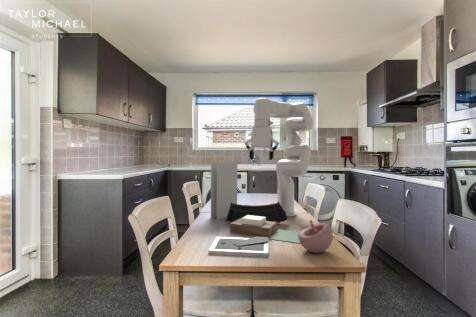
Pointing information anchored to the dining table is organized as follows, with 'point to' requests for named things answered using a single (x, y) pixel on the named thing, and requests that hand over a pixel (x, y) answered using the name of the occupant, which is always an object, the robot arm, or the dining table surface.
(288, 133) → the robot arm
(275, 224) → the block
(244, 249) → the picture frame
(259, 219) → the tile
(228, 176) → the tall grey block
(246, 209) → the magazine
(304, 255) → the dining table surface
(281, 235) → the mat
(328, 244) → the mortar and pestle
